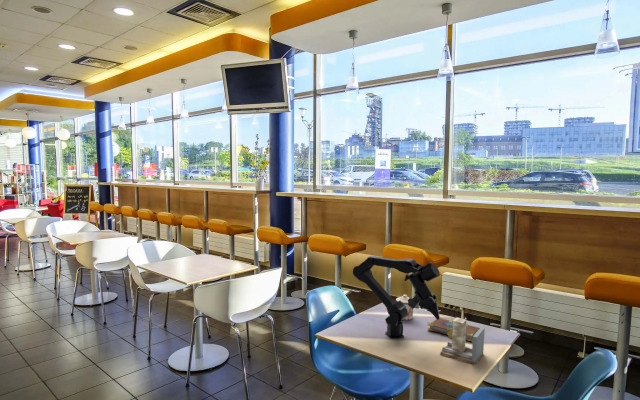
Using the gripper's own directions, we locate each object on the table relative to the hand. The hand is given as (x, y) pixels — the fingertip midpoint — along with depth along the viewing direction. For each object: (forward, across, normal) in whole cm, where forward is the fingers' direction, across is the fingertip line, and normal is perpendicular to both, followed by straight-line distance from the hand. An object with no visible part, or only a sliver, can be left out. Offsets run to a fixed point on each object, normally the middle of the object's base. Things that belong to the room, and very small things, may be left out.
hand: (438, 319), depth 170 cm
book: (+10, -23, -2) cm, 25 cm away
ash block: (+14, 0, +1) cm, 14 cm away
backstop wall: (+19, +2, +7) cm, 20 cm away
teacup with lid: (-5, -34, -19) cm, 39 cm away
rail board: (+16, 0, +2) cm, 16 cm away
